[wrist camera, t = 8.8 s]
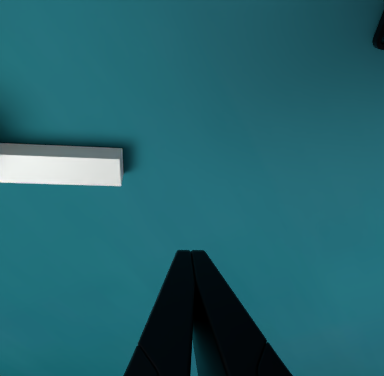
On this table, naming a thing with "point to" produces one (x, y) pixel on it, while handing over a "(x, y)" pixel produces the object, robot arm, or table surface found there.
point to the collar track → (60, 164)
